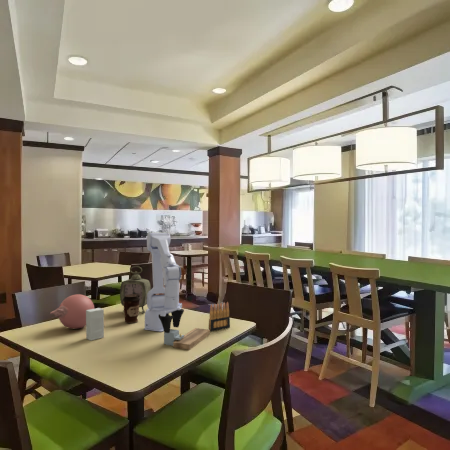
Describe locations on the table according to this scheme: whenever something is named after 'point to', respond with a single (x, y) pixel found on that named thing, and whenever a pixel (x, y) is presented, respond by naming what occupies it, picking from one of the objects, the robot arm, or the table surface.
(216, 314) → the ammunition clip
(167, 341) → the grey stepped block
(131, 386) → the table surface
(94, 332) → the skincare box
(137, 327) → the table surface
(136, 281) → the tabletop clock
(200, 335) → the board
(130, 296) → the coffee cup
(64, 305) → the balloon
